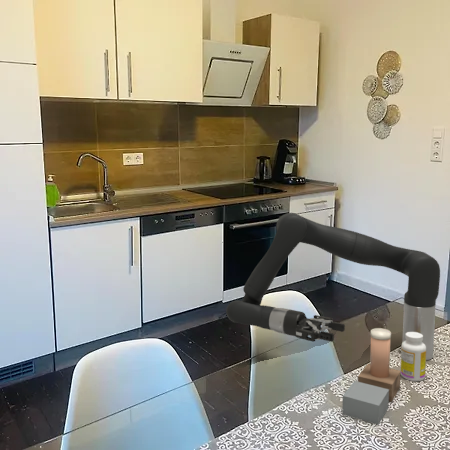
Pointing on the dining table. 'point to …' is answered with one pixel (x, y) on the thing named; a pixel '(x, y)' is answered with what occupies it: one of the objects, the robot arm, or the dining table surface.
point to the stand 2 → (365, 402)
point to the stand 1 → (382, 380)
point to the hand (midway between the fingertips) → (339, 332)
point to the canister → (380, 352)
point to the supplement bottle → (413, 357)
